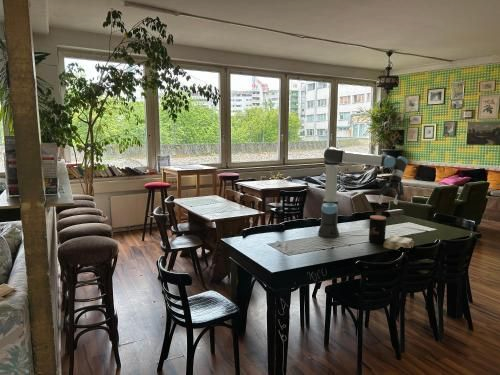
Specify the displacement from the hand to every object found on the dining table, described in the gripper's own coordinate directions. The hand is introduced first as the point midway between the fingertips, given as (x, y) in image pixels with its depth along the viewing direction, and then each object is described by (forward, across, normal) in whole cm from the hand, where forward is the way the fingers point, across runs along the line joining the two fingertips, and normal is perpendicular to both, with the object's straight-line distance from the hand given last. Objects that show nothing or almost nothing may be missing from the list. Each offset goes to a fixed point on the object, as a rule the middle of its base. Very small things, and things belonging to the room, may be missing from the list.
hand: (387, 203), depth 258 cm
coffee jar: (+27, +3, -6) cm, 28 cm away
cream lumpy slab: (+26, -11, -11) cm, 31 cm away
